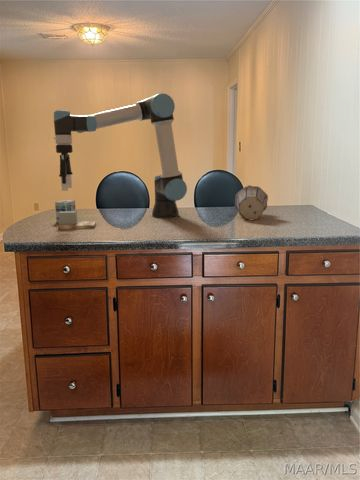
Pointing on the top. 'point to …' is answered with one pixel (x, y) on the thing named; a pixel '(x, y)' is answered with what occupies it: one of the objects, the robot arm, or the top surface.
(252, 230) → the top surface
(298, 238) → the top surface
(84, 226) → the board
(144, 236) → the top surface
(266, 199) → the faceted geometric planter
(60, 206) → the light bulb box
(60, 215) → the block
